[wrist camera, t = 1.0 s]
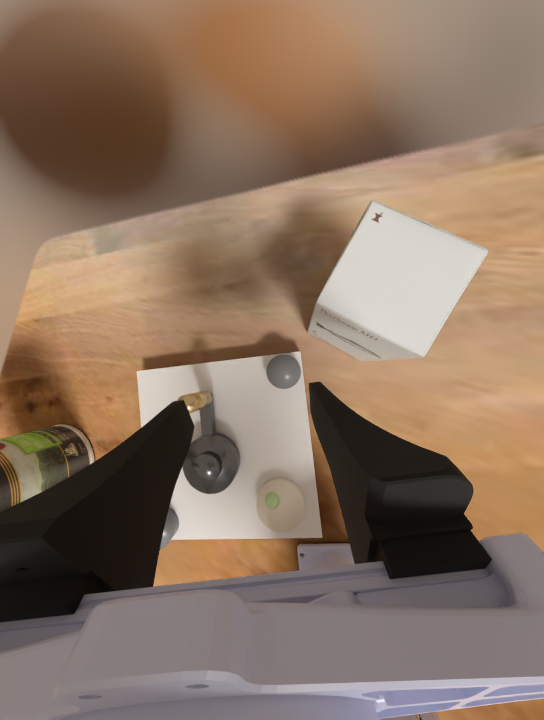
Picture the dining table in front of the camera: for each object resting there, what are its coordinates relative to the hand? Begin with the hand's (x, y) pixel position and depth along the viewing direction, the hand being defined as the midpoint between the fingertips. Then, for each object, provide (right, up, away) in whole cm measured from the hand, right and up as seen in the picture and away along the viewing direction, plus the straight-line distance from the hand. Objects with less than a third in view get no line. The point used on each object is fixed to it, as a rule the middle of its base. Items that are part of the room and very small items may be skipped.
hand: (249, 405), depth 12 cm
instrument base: (-4, -8, +14) cm, 16 cm away
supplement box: (+10, +7, +13) cm, 18 cm away
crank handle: (-6, -6, +12) cm, 14 cm away
